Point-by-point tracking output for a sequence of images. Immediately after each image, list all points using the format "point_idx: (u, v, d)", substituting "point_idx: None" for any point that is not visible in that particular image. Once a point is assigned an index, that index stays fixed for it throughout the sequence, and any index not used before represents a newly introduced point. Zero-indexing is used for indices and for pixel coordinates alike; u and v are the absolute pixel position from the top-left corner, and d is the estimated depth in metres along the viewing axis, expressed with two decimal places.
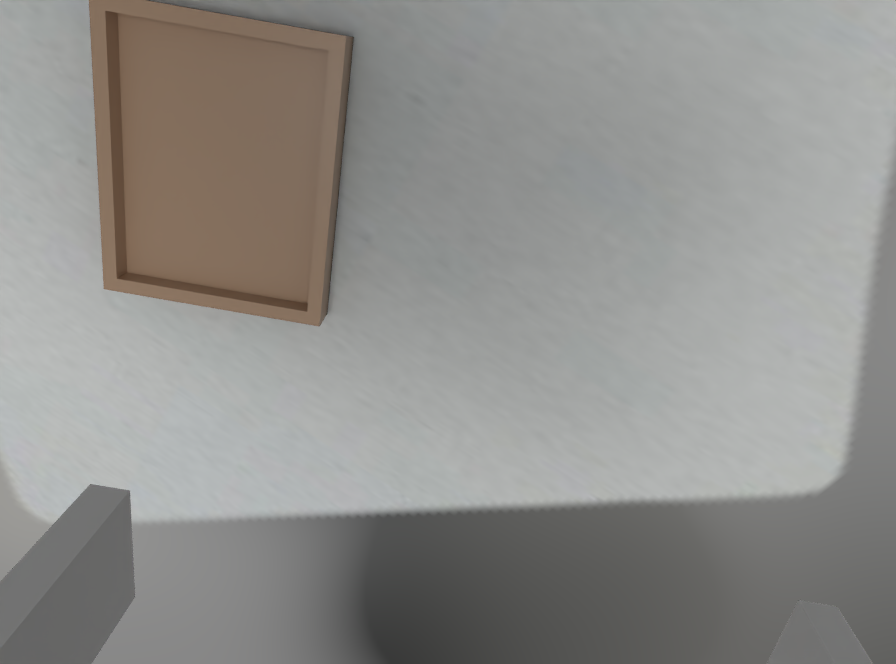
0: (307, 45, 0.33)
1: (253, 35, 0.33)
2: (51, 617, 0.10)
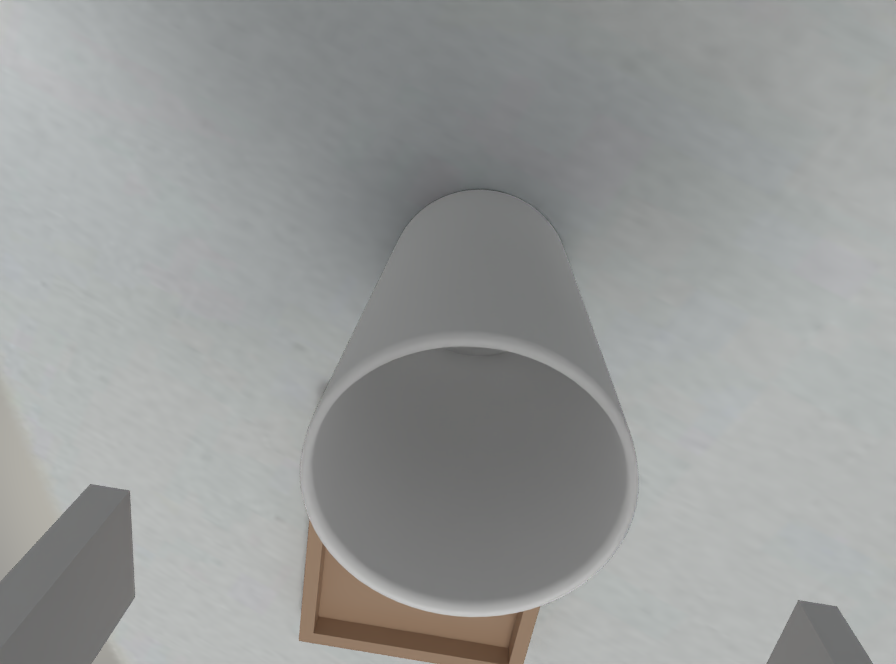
0: None
1: None
2: (51, 617, 0.10)
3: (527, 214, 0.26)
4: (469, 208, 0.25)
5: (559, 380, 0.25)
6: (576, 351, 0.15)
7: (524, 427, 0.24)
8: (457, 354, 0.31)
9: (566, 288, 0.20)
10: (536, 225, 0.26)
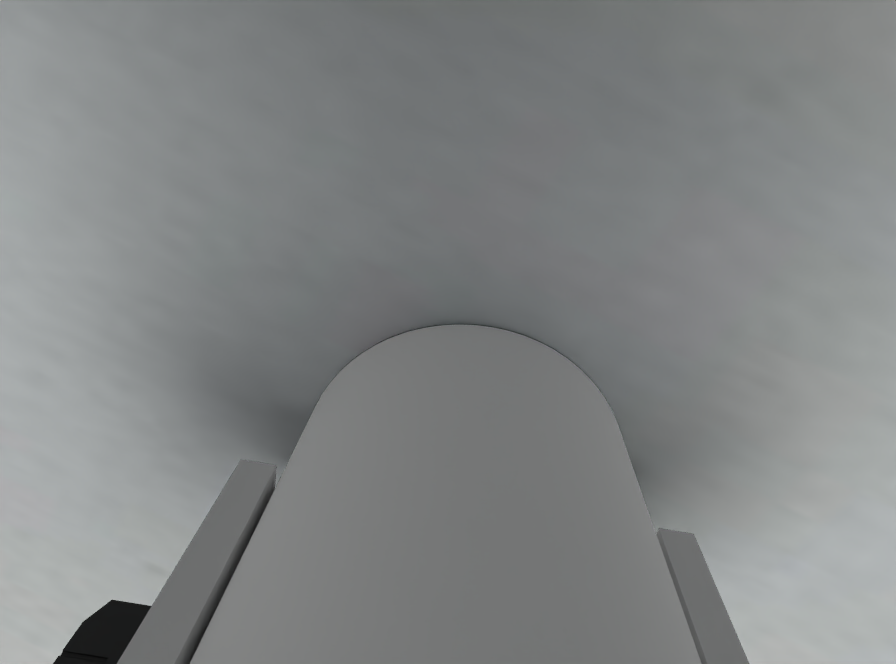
0: None
1: None
2: (233, 572, 0.12)
3: (557, 397, 0.13)
4: (436, 402, 0.12)
5: None
6: None
7: None
8: None
9: None
10: (579, 433, 0.12)
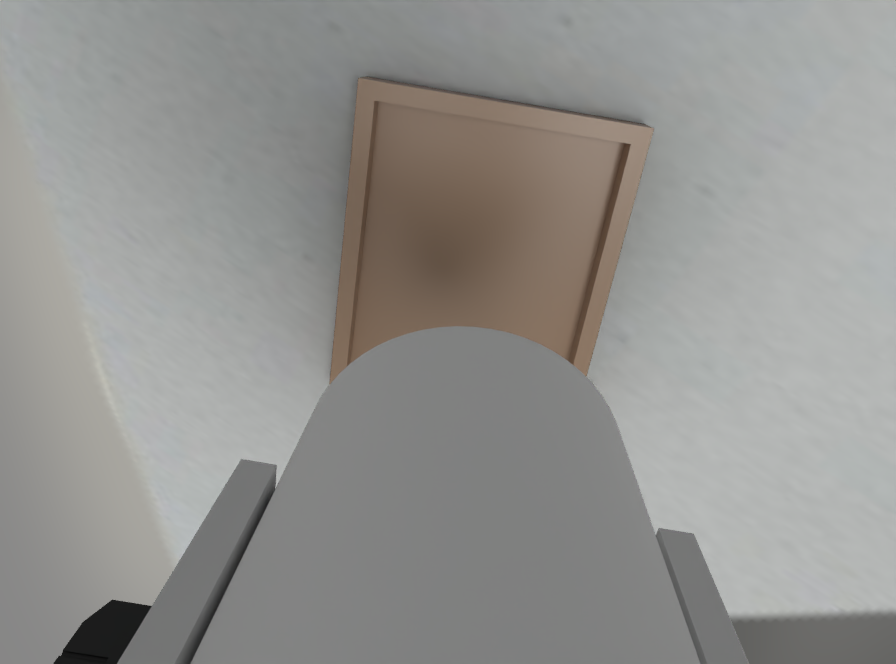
0: (606, 138, 0.28)
1: (544, 127, 0.28)
2: (233, 572, 0.12)
3: (557, 399, 0.13)
4: (436, 405, 0.12)
5: None
6: None
7: None
8: None
9: None
10: (579, 436, 0.12)
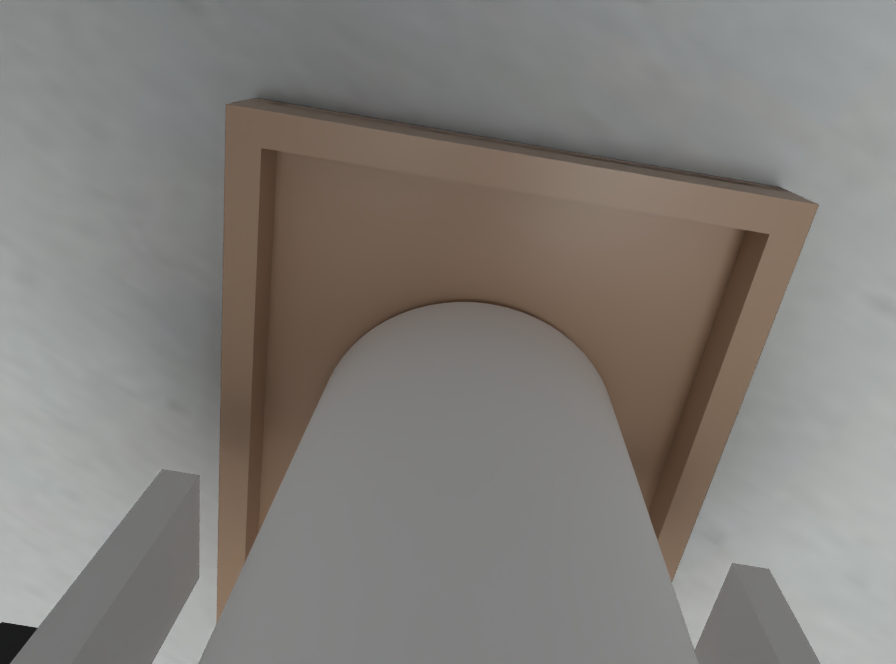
0: (722, 223, 0.14)
1: (598, 201, 0.14)
2: (139, 591, 0.11)
3: (552, 366, 0.14)
4: (443, 370, 0.13)
5: None
6: None
7: None
8: None
9: None
10: (571, 398, 0.13)
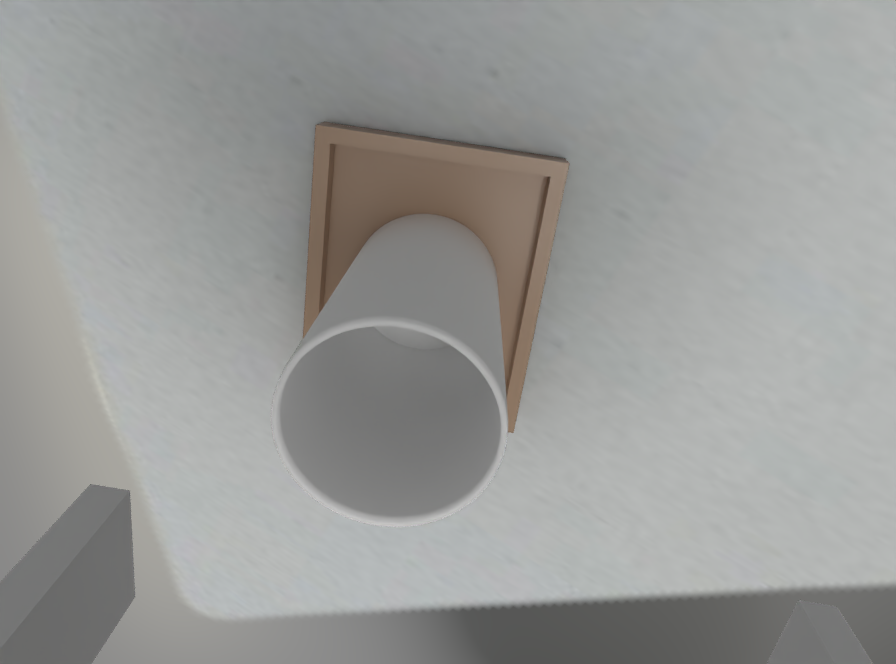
0: (529, 172, 0.33)
1: (476, 164, 0.33)
2: (51, 617, 0.10)
3: (457, 233, 0.33)
4: (409, 229, 0.32)
5: None
6: (462, 330, 0.22)
7: (454, 400, 0.31)
8: (410, 348, 0.38)
9: (473, 289, 0.27)
10: (463, 242, 0.32)
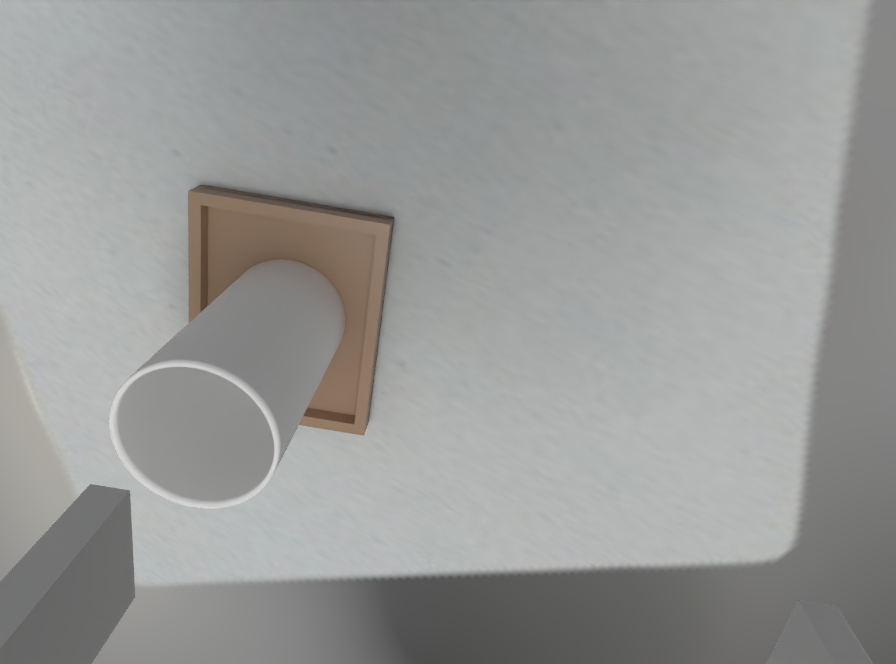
0: (359, 231, 0.42)
1: (317, 223, 0.42)
2: (51, 617, 0.10)
3: (301, 278, 0.42)
4: (259, 276, 0.41)
5: None
6: (246, 368, 0.31)
7: None
8: None
9: (284, 331, 0.35)
10: (302, 286, 0.41)
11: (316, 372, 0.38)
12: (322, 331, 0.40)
